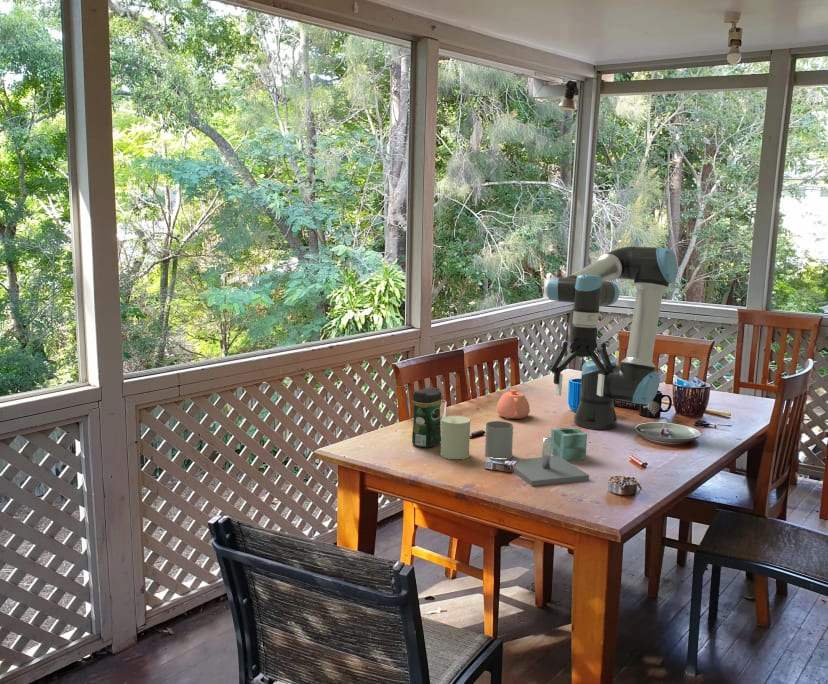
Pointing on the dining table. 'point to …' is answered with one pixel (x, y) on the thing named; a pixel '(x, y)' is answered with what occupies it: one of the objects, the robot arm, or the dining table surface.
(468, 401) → the dining table surface
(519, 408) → the sugar bowl
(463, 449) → the can
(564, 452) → the bead
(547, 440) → the rod
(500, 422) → the cup
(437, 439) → the coffee jar
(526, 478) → the board
